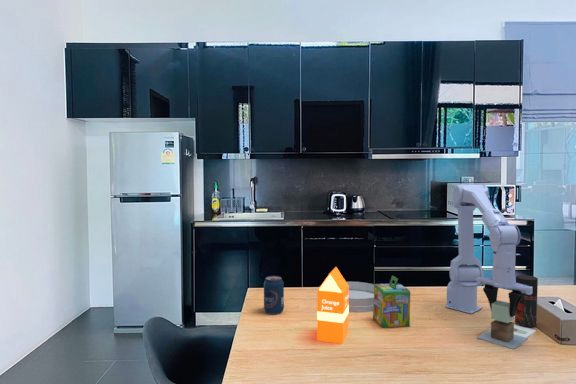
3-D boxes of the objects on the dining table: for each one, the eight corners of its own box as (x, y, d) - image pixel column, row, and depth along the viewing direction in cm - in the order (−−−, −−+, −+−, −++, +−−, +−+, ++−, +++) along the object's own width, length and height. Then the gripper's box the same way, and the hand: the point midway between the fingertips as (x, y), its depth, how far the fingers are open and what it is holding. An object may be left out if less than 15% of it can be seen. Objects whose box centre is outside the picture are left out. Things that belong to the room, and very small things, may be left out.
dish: (393, 299, 155) (393, 286, 155) (372, 317, 137) (372, 302, 136) (340, 290, 167) (340, 278, 167) (314, 306, 148) (314, 292, 148)
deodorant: (539, 328, 125) (541, 280, 125) (519, 327, 126) (520, 279, 126) (531, 321, 131) (533, 275, 130) (511, 320, 132) (513, 274, 131)
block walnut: (490, 337, 118) (491, 322, 118) (497, 333, 121) (497, 318, 121) (507, 342, 115) (507, 326, 114) (513, 338, 118) (513, 322, 117)
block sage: (491, 318, 118) (491, 303, 118) (497, 315, 121) (498, 300, 121) (507, 323, 114) (508, 307, 114) (514, 319, 117) (514, 303, 117)
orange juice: (349, 332, 124) (349, 267, 123) (343, 343, 115) (343, 274, 114) (324, 329, 126) (323, 265, 125) (316, 340, 118) (316, 272, 117)
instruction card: (499, 332, 123) (499, 331, 123) (511, 324, 129) (511, 323, 129) (525, 339, 118) (525, 338, 118) (536, 330, 123) (536, 330, 123)
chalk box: (372, 317, 135) (372, 274, 135) (399, 316, 137) (399, 272, 136) (382, 328, 126) (382, 281, 125) (410, 327, 127) (411, 280, 127)
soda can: (260, 313, 140) (260, 279, 139) (269, 307, 146) (268, 274, 146) (279, 316, 137) (278, 281, 137) (286, 309, 144) (286, 276, 143)
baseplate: (477, 338, 119) (477, 337, 118) (491, 329, 125) (491, 328, 125) (514, 349, 111) (514, 348, 111) (527, 339, 117) (527, 338, 117)
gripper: (472, 264, 120) (471, 310, 120) (526, 274, 109) (525, 324, 110) (482, 261, 124) (482, 305, 125) (535, 269, 113) (534, 317, 114)
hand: (502, 313), depth 118 cm, fingers closed on block sage, 4 cm apart
